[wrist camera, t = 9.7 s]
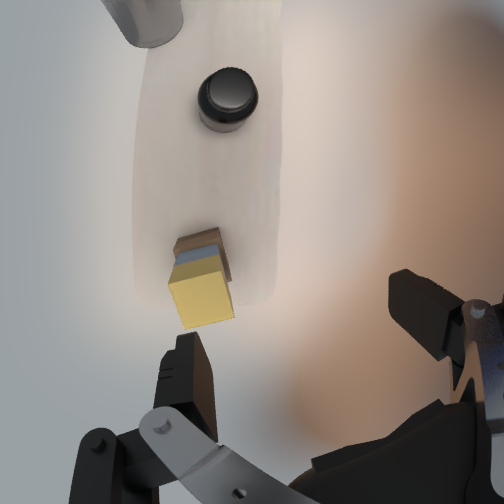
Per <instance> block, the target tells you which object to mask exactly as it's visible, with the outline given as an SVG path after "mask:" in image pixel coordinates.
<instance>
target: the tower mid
mask: <svg viewBox="0 0 504 504" xmlns="http://www.w3.org/2000/svg"><path fill="white" fill-rule="evenodd" d="M218 254H219V256H220V253H219V249H218V245H217V243H216V244H212V245H208V246H204V247H200V248H196V249H192V250H189V251H185V252H181V253H178V255H177V258H176V261H175V264H174V266H176V265H180V264H183V263H187V262H191V261H195V260H199V259H203V258H206V257H210V256H214V255H218ZM220 260H221V256H220ZM221 263H222V260H221ZM174 266H173V267H174ZM222 267H223V264H222ZM223 271H224V267H223ZM224 274H225V271H224ZM225 278H226V275H225ZM226 281H227V279H226ZM227 285H228V284H227Z"/></svg>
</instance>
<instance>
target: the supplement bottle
mask: <svg viewBox="0 0 504 504" xmlns="http://www.w3.org/2000/svg"><path fill="white" fill-rule="evenodd" d="M257 103H258V91H257V88H256V86H255V84H254V82H253V80H252V78H251V77H250V76H249V74H248V73H246V71H243V70H242V69H238V68H234V67H231V68H229V67H227V68H223V69H221V70H218V71H217V72H215V73H213V74H211V75H210V76H208V77H207V78H206V79H205V80H204V81H203V83H202V84H201V86H200V88H199V92H198V107H199V113H200V117H201V120H202V121H203V123H204V124H205V125H206V126H207V127H208V128H209V129H211V130H213V131H216V132H220V133H226V132H231V131H234V130H236V129H238V128H239V127H241V126H242V125H243V124H244V123H245V121H246V120H247V119H248V118H249V117H250V116H251V115H252V113H253V112H254V110H255V108H256V106H257Z"/></svg>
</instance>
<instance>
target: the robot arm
mask: <svg viewBox="0 0 504 504" xmlns="http://www.w3.org/2000/svg"><path fill="white" fill-rule="evenodd" d="M101 1H102V2H103V4H104V5H105V7H106V9H107V10H108V12H109V13H110V15H111V16H112V18H113V19H114V21H115V22H116V24H117V25H118V27H119V28H120V30H121V32H122V33H123V35H124V36H125V38H126V39H127V41H128V42H129V43H130V44H132V45H133V46H136V47H139V48H152V47H156V46H159V45H162V44H164V43H166V42H168V41H170V40H171V39H172V38H173V37H175V36H176V34H177V33H178V32H179V31H180V29H181V27H182V24H183V15H182V8H181V1H180V0H101ZM388 308H389V312H390V315H391V317H392V318H393V319H394V320H395V321H396V322H397V323H398V324H399V325H400V326H401V327H402V328H403V329H404V330H406V331H407V332H408V333H409V334H410V335H411V336H412V337H413V338H414V339H415V340H416V341H417V342H418V343H419V344H420V345H421V346H422V347H424V348H425V349H426V350H427V351H428V352H429V353H430V354H431V355H432V356H433V357H434V358H435V359H436V360H437V361H440V360H442V359H443V358H445V357H446V356H449V357H450V361H449V386H450V399H449V404H448V405H444V404H443V403H442V402H441V401H440V399H437V400H436V401H434V402H433V403H431V404H429V405H428V406H426V407H425V408H423V409H421V410H420V411H418V412H416V413H415V414H413V415H412V416H411V417H409V418H408V419H407V420H406V421H405V422H404V423H403V424H402V425H400V426H399V427H398V428H397V429H396V430H395V431H393V432H392V433H391V434H390V435H388V436H387V437H385V438H382V439H378V440H374V441H370V442H365V443H360V444H355V445H350V446H346V447H343V448H341V449H338V450H335V451H333V452H330V453H327V454H324V455H322V456H318V457H315V458H312V459H311V462H312V468H311V469H309V470H307V471H306V472H304V473H303V474H301V475H300V476H298V477H297V478H296V479H295V480H294V481H293V482H291V483H290V484H289V485H288V486H286V485H284V484H283V483H281V482H279V481H278V480H276V479H274V478H273V477H271V476H270V475H268V474H266V473H265V472H263V471H262V470H260V469H259V468H257V467H256V466H254V465H253V464H251V463H250V462H248V461H247V460H245V459H244V458H243V457H241V456H240V455H238V454H237V453H236V452H234V451H233V450H231V449H230V448H228V447H227V446H225V445H222V446H219V445H218V444H216V443H217V442H218V433H217V422H216V410H215V397H214V384H213V373H212V368H211V365H210V362H209V359H208V357H207V355H206V352H205V350H204V347H203V345H202V342H201V340H200V337H199V335H198V333H197V332H191V333H187V334H182V335H178V336H177V339H176V348H175V349H174V350H169V351H167V353H166V354H165V355H164V357H163V358H162V360H161V363H160V369H159V370H160V372H159V375H158V381H157V387H156V393H155V399H154V406H153V410H151V411H149V412H148V413H147V414H145V416H144V417H143V418H142V419H141V421H140V424H139V428H137V429H135V430H132V431H129V432H126V433H124V434H120V435H118V436H116V435H115V434H114V433H113V432H112V431H111V430H109V429H107V428H96V429H93V430H91V431H89V432H88V433H87V434H86V435H85V436H84V437H83V438H82V440H81V443H80V446H79V450H78V455H77V459H76V464H75V469H74V474H73V480H72V485H71V492H70V497H69V504H160V503H159V486H161V485H164V484H167V483H170V482H173V481H176V480H179V481H180V483H181V484H182V485H183V486H184V487H185V488H186V489H187V490H188V491H189V492H190V493H191V494H192V495H193V496H194V497H195V498H197V499H198V500H199V501H200V502H201V503H202V504H504V295H503V299H502V303H500V304H496V305H493V306H491V305H490V304H489V303H488V302H486V301H483V300H480V299H472V300H468V301H466V302H465V301H463V300H462V299H460V298H459V297H457V296H455V295H454V294H452V293H451V292H449V291H447V290H446V289H443V287H441V286H440V285H437V283H435V282H433V281H432V280H430V279H428V278H424V277H421V276H418V275H416V274H414V273H413V272H411V271H410V270H408V269H403V270H400V271H398V272H395V273H392V274H391V275H390V276H389V299H388Z"/></svg>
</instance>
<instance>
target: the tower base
mask: <svg viewBox="0 0 504 504" xmlns="http://www.w3.org/2000/svg"><path fill="white" fill-rule="evenodd" d="M216 243H217V245H218V249H219V253H220V256H221V260H222V264H223V267H224V271H225V275H226V279H227V282H230V281H232V279H231V274H230V269H229V265H228V261H227V258H226V254H225V250H224V247H223V243H222V240H221V236H220V232H219V229H218V227H217V228H214V229H210V230H207V231H203V232H199V233H196V234H192V235H189V236H185V237H182V238H178V240H177V242H176V245H175V247H174V249H173V251H174V254H175V257H176V258H177V255H178V253H181V252H185V251H189V250H192V249H196V248H200V247H204V246H208V245H212V244H216Z"/></svg>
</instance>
